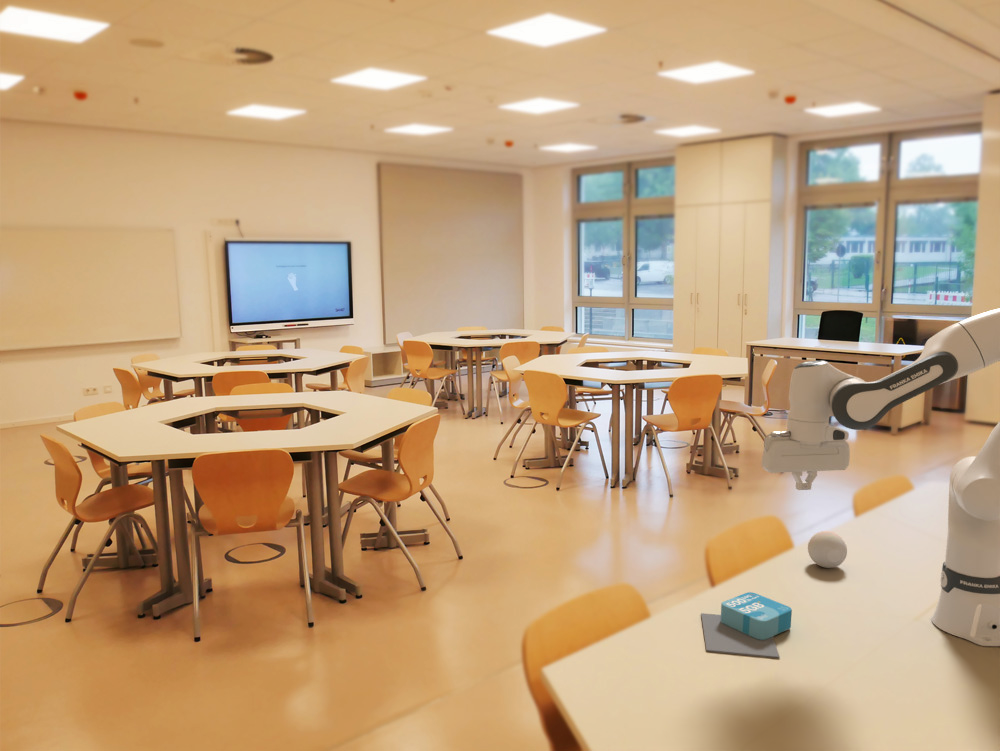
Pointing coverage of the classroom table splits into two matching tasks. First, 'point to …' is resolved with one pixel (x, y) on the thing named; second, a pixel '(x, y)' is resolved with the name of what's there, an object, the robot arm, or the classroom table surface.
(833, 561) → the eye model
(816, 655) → the classroom table surface
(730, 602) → the data package
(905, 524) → the classroom table surface
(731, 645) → the mat
